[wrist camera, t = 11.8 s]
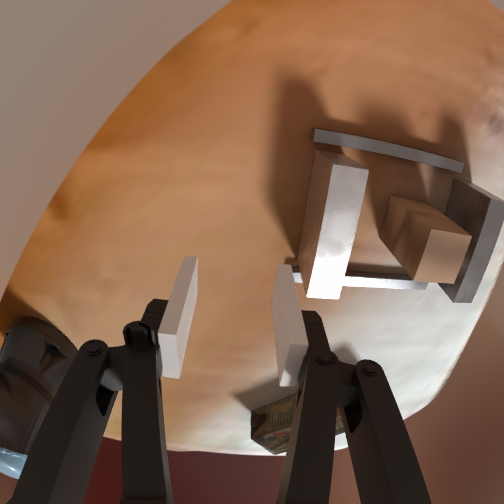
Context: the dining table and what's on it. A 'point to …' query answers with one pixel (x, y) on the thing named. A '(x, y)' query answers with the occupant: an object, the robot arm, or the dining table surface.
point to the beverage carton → (278, 425)
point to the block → (424, 240)
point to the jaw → (330, 222)
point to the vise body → (458, 210)
